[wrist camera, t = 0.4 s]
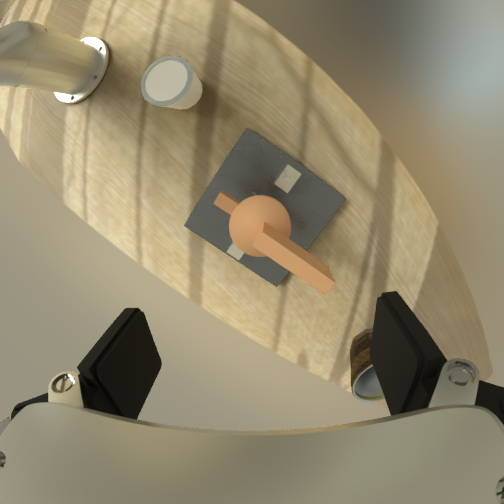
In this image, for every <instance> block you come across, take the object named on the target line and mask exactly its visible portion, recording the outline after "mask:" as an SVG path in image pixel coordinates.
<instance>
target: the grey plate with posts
mask: <svg viewBox="0 0 504 504" xmlns="http://www.w3.org/2000/svg"><path fill="white" fill-rule="evenodd" d="M221 191H224V192H226V193H227V194H229V195H230V196H232V197H233V198H235V199H236V200H238V201H239V202H242V201H243V200H244V199H246V198H248V197H251V196H254V195H267V196H270V197H273V198H275V199H276V200H278V201H279V202H281V203H282V204H283V206H284V207H285V208H286V210H287V212H288V214H289V217H290V222H291V233H290V237H289V239H290V240H292V241H293V242H294V243H296V244H297V245H299V246H300V247H301V248H303V249H304V250H307V249H308V247H309V246H310V245H311V244H312V242H313V241H314V240H315V238H316V237H317V236H318V235H319V233H320V232H321V231H322V229H323V228H324V227H325V226H326V224H327V223H328V222H329V220H330V219H331V218H332V216H333V215H334V214H335V213H336V211H337V210H338V209H339V207H340V206H341V205H342V203H343V202H344V201H345V198H344V197H343V196H342V195H340V194H339V193H338V192H337V191H335V190H334V189H333V188H331V187H330V186H329V185H328V184H326V183H325V182H324V181H322V180H321V179H320V178H318V177H317V176H316V175H315V174H313V173H312V172H310V171H309V170H308V169H306V168H305V167H304V166H302V165H301V164H300V163H298V162H297V161H295V160H294V159H293V158H291V157H290V156H288V155H287V154H285V153H284V152H283V151H281V150H280V149H278V148H277V147H275V146H274V145H272V144H271V143H269V142H268V141H266V140H265V139H263V138H262V137H260V136H259V135H257V134H256V133H254V132H253V131H251V130H249V129H248V128H247V129H246V131H245V132H244V134H243V135H242V136H241V138H240V139H239V141H238V142H237V144H236V145H235V147H234V148H233V149H232V151H231V152H230V154H229V155H228V157H227V158H226V160H225V161H224V163H223V164H222V166H221V167H220V169H219V170H218V172H217V173H216V175H215V177H214V178H213V180H212V181H211V183H210V184H209V186H208V187H207V189H206V191H205V192H204V194H203V195H202V197H201V199H200V200H199V202H198V203H197V205H196V207H195V208H194V210H193V212H192V213H191V215H190V217H189V218H188V220H187V222H186V223H185V225H184V226H186V227H187V228H189V229H190V230H192V231H193V232H195V233H196V234H198V235H199V236H200V237H202V238H203V239H205V240H206V241H208V242H209V243H211V244H212V245H214V246H215V247H217V248H218V249H220V250H221V251H223V252H224V253H226V254H227V255H229V256H230V257H232V258H234V259H235V260H237V261H238V262H240V263H241V264H243V265H244V266H246V267H247V268H249V269H250V270H252V271H253V272H255V273H256V274H258V275H259V276H261V277H262V278H264V279H265V280H267V281H268V282H270V283H272V284H273V285H275V286H276V287H277V286H278V285H279V283H280V282H281V281H282V280H283V278H284V277H285V276H286V275H287V274H288V272H289V270H287V269H286V268H284V267H283V266H281V265H280V264H278V263H277V262H275V261H274V260H272V259H271V258H269V257H268V256H266V257H255V256H251V255H248V254H246V253H244V252H242V251H241V250H240V249H239V248H238V247H237V246H236V245H235V244H234V242H233V241H232V238H231V236H230V232H229V221H230V217H231V215H230V214H228V213H227V212H225V211H224V210H222V209H221V208H219V207H218V206H216V205H215V204H213V203H214V201H215V200H216V198H217V197H218V195H219V194H220V192H221Z"/></svg>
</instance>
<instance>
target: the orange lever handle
mask: <svg viewBox="0 0 504 504" xmlns="http://www.w3.org/2000/svg"><path fill="white" fill-rule="evenodd" d="M213 204H215V205H216V206H218V207H219V208H221V209H222V210H224V211H225V212H227V213H228V214H230V215H231V217H230V221H229V232H230V236H231V238H232V241H233V242H234V244H235V245H236V246H237V247H238V248H239V249H240V250H241V251H242V252H244V253H246V254H248V255H251V256H255V257H266V256H268V257H269V258H271V259H272V260H274V261H275V262H277V263H278V264H280V265H281V266H283V267H284V268H286V269H287V270H289V271H290V272H292V273H293V274H295V275H296V276H297V277H299V278H300V279H302V280H303V281H305V282H306V283H308V284H309V285H311V286H312V287H314V288H315V289H317V290H318V291H320V292H321V293H323V294H324V295H325V294H326V293H327V292H328V291H329V290H330V289H331V288H332V286H333V285H334V284H335V281H334V278H333V276H332V274H331V272H330V269H329V267H328V266H327V265H325V264H324V263H322V262H321V261H320V260H318V259H317V258H315V257H314V256H313V255H311V254H310V253H308V252H307V251H306V250H304V249H303V248H301V247H300V246H299V245H297V244H296V243H294V242H293V241H292V240H290V239H289V237H290V233H291V222H290V217H289V214H288V212H287V210H286V208H285V207H284V206H283V204H282V203H281V202H279V201H278V200H276V199H275V198H273V197H270V196H267V195H254V196H251V197H248V198H246V199H244V200H243V201H242V202H239V201H238V200H236V199H235V198H233V197H232V196H230V195H229V194H227V193H226V192H224V191H221V192H220V194H219V195H218V197H217V198H216V200H215V201H214V203H213Z"/></svg>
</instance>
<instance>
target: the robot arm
mask: <svg viewBox="0 0 504 504" xmlns="http://www.w3.org/2000/svg"><path fill="white" fill-rule="evenodd" d="M14 1H15V0H0V23H1V21H2V20H3V18H4V17H5V15H6V13H7V12H8V10H9V9H10V7H11V6H12V4H13V3H14ZM108 60H109V52H108V48H107V46H106V44H105V43H104V42H103V41H102V40H100V39H98V38H95V37H88V38H84V39H82V40H79V39H76V38H74V37H72V36H69V35H67V34H64V33H62V32H59V31H57V30H54V29H52V28H49V27H46V26H44V25H41V24H38V23H35V22H32V21H28V20H21V21H16V22H13V23H10V24H8V25H5V26H3V27H1V28H0V86H6V87H18V88H27V89H35V90H43V91H50V92H54V93H55V96H56V97H57V99H58V100H60V101H61V102H64V103H76V102H79V101H81V100H83V99H84V98H86V97H87V96H88V95H90V94H91V93H92V92H93V91H94V89H95V88H96V87H97V86H98V84H99V83H100V81H101V79H102V78H103V76H104V73H105V71H106V68H107V65H108ZM370 359H371V362H372V365H373V367H374V370H375V372H376V375H377V378H378V380H379V383H380V386H381V388H382V391H383V394H384V397H385V399H386V402H387V405H388V408H389V411H390V414H391V416H388V417H383V418H379V419H374V420H367V421H361V422H355V423H349V424H343V425H335V426H328V427H318V428H307V429H294V430H273V431H272V430H271V431H236V430H214V429H201V428H189V427H181V426H173V425H166V424H158V423H152V422H147V421H141V420H137V418H138V415H139V413H140V411H141V409H142V407H143V404H144V403H145V400H146V398H147V396H148V394H149V392H150V390H151V388H152V386H153V383H154V381H155V379H156V377H157V375H158V373H159V371H160V369H161V364H162V363H161V358H160V356H159V353H158V351H157V348H156V345H155V343H154V340H153V337H152V335H151V332H150V329H149V326H148V323H147V320H146V317H145V315H144V313H143V312H142V311H141V310H140V309H138V308H126V309H124V310H123V312H122V313H121V314H120V315H119V316H118V317H117V319H116V320H115V321H114V322H113V324H111V326H110V327H109V328H108V329H107V330H106V332H105V333H104V334H103V336H102V337H101V338H100V339H99V340H98V341H97V343H96V344H95V345H94V347H93V348H92V349H91V350H90V351H89V353H88V354H87V355H86V357H85V358H84V359H83V360H82V362H81V363H80V364H79V365H78V367H77V368H78V370H79V372H80V374H79V375H77V374H76V373H75V372H72V371H65V372H61V373H59V374H57V375H56V376H55V377H53V379H52V380H51V381H50V383H49V387H48V393H46V394H43V395H40V396H38V397H35V398H32V399H30V400H27V401H24V402H22V403H19V404H17V405H16V406H15V407H14V409H13V411H12V414H11V419H10V418H9V417H8V418H6V419H5V420H3V421H2V422H0V504H504V387H500V386H496V385H494V384H490V383H487V382H484V381H481V380H479V371H478V368H477V367H476V366H475V365H474V364H473V363H472V362H470V361H468V360H466V359H461V358H456V359H452V360H449V361H447V359H446V358H445V356H444V355H443V353H442V352H441V350H440V349H439V348H438V346H437V345H436V343H435V342H434V340H433V339H432V337H431V336H430V335H429V333H428V332H427V330H426V329H425V328H424V326H423V325H422V323H421V322H420V321H419V320H418V319H417V317H416V316H415V315H414V313H413V312H412V311H411V309H410V308H409V307H408V305H407V304H406V303H405V301H404V300H403V299H402V297H401V296H400V295H399V294H398V292H397V291H393V292H385V293H382V295H381V297H378V298H377V303H376V312H375V319H374V326H373V333H372V339H371V345H370Z"/></svg>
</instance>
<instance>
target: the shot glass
mask: <svg viewBox="0 0 504 504" xmlns="http://www.w3.org/2000/svg"><path fill="white" fill-rule="evenodd" d="M202 92H203V89H202V83H201V82H200V80H199V78H198V77H197V75H196V74H195V72H194V70H193V69H192V67H191V66H190V64H189V63H188V61H187V60H185V59H183V58H181V57H180V56H166V57H162V58H159V59H158V60H156V61H155V62H153V63H152V64H150V66H149V67H148V68H147V69H146V71H145V72H144V74H143V77H142V80H141V93H142V95H143V97H144V99H145V100H146V101H147V102H149V103H150V104H152V105H155V106H162V107H168V108H173V109H179V110H183V109H188V108H190V107H192V106H194V105H195V104H196V103H197V102H198V101H199V99H200V98H201V95H202Z"/></svg>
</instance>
